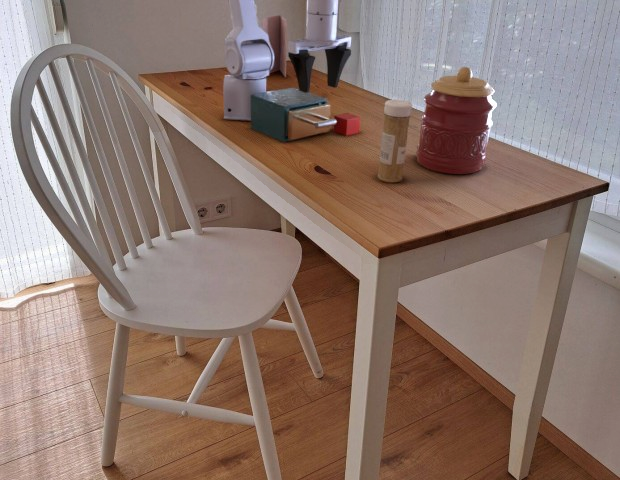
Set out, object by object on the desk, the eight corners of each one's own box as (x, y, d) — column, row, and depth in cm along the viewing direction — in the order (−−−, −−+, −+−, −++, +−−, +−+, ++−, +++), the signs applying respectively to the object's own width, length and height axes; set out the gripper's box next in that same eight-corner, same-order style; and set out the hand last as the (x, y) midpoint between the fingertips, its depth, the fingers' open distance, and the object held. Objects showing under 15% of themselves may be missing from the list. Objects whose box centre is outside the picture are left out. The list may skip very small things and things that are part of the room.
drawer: (345, 137, 122) (347, 109, 119) (307, 146, 116) (308, 117, 113) (297, 119, 132) (298, 93, 129) (260, 127, 126) (260, 100, 123)
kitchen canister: (411, 150, 119) (424, 58, 110) (475, 154, 119) (494, 61, 110) (419, 173, 108) (434, 73, 99) (490, 177, 108) (511, 77, 99)
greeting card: (276, 68, 179) (277, 14, 171) (299, 71, 177) (300, 16, 169) (259, 75, 170) (259, 18, 162) (282, 79, 168) (283, 21, 160)
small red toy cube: (359, 132, 128) (360, 117, 126) (346, 135, 126) (347, 119, 124) (346, 128, 131) (347, 112, 129) (333, 131, 128) (334, 115, 126)
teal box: (325, 132, 127) (327, 98, 123) (283, 142, 120) (284, 106, 117) (292, 120, 134) (293, 87, 130) (250, 128, 127) (250, 94, 123)
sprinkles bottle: (406, 182, 104) (416, 105, 97) (381, 184, 103) (390, 105, 96) (397, 173, 108) (406, 98, 101) (373, 174, 107) (381, 98, 100)
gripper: (307, 18, 102) (304, 98, 110) (364, 13, 111) (358, 88, 118) (281, 13, 107) (280, 90, 114) (338, 9, 115) (334, 81, 123)
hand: (318, 89), depth 116 cm, fingers open, 7 cm apart
